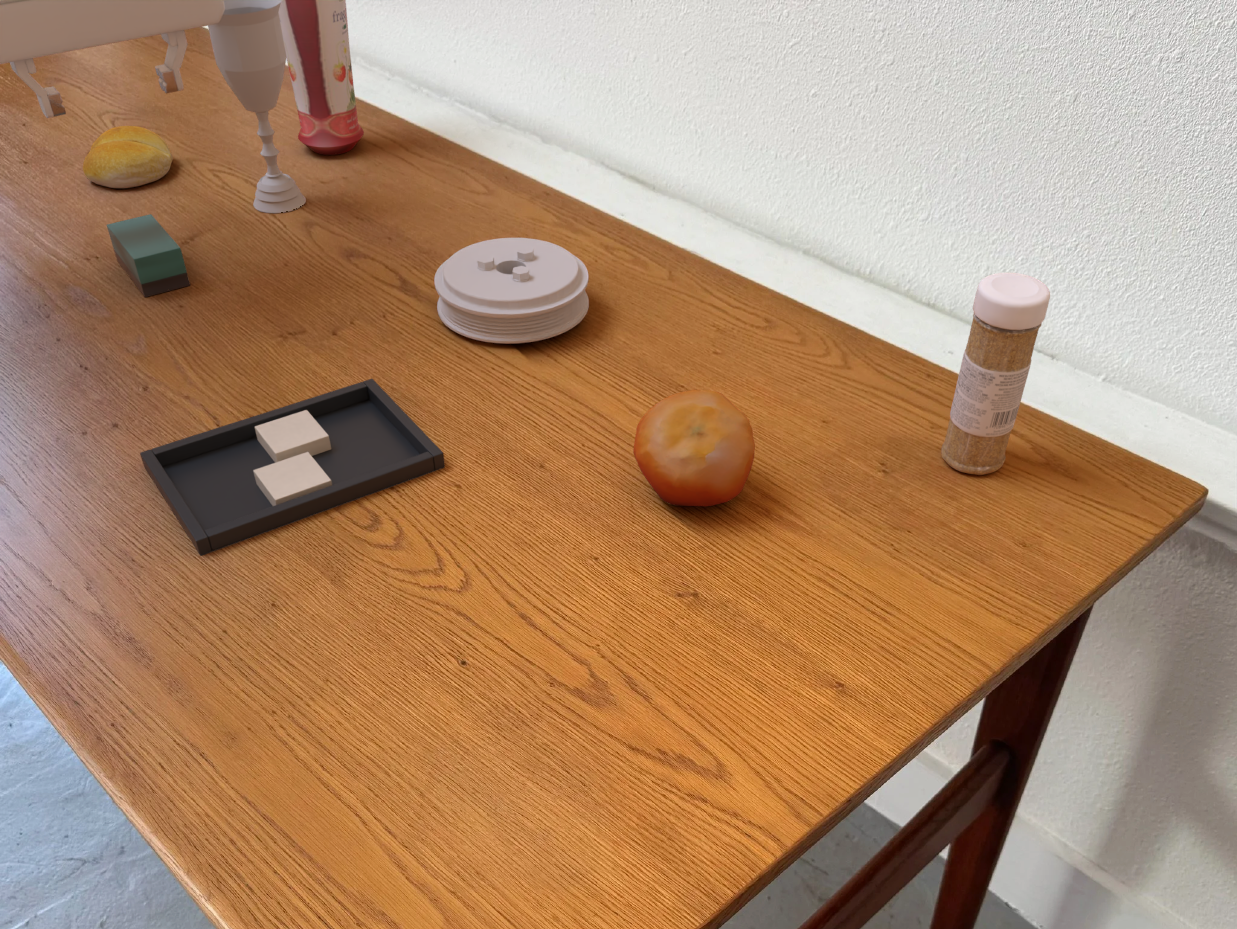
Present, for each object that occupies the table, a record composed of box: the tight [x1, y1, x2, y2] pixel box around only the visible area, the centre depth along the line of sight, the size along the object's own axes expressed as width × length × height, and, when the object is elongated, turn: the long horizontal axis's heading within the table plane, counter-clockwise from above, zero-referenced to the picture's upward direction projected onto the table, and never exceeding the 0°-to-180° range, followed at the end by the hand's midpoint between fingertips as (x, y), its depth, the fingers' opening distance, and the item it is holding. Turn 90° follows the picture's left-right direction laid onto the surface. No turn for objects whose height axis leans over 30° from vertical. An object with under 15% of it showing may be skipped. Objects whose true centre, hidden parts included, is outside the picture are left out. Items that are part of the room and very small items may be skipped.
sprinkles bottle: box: [940, 272, 1051, 476], centre depth 80 cm, size 5×5×14 cm
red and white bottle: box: [278, 0, 365, 156], centre depth 116 cm, size 7×7×28 cm
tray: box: [139, 378, 446, 557], centre depth 82 cm, size 18×12×2 cm, turn 124°
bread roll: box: [82, 125, 174, 189], centre depth 119 cm, size 8×9×4 cm
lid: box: [433, 237, 590, 344], centre depth 98 cm, size 13×13×5 cm
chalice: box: [207, 0, 307, 214], centre depth 109 cm, size 7×7×18 cm
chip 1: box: [255, 410, 331, 463], centre depth 84 cm, size 4×4×1 cm
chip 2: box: [253, 452, 332, 506], centre depth 80 cm, size 4×4×1 cm
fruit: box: [633, 388, 756, 507], centre depth 80 cm, size 8×8×8 cm
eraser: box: [106, 213, 191, 298], centre depth 103 cm, size 8×4×4 cm, turn 34°
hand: (114, 102), depth 95 cm, fingers open, 8 cm apart
